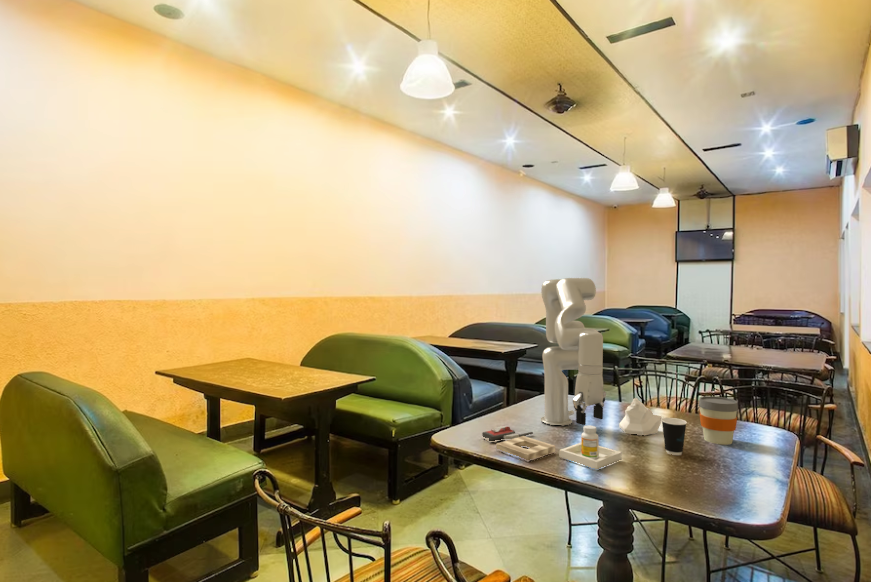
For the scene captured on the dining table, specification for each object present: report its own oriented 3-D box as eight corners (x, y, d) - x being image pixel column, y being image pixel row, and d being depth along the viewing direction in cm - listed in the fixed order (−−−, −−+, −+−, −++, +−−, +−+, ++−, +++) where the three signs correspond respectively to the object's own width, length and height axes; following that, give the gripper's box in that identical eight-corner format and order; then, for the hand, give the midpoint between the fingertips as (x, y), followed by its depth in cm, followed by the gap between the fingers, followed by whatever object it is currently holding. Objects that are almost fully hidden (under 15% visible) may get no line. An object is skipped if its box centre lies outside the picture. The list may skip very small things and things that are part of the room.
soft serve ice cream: (658, 442, 178) (654, 407, 176) (617, 439, 187) (611, 405, 184) (662, 426, 189) (658, 392, 186) (622, 423, 197) (618, 391, 194)
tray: (584, 449, 166) (584, 441, 166) (621, 460, 155) (621, 452, 155) (559, 458, 157) (559, 449, 157) (597, 471, 146) (597, 461, 146)
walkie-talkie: (493, 446, 170) (534, 437, 181) (493, 434, 170) (534, 425, 181) (478, 440, 177) (518, 431, 188) (478, 428, 177) (518, 420, 188)
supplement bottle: (585, 452, 160) (585, 423, 160) (601, 456, 157) (601, 426, 157) (578, 456, 156) (578, 427, 156) (594, 460, 153) (594, 430, 153)
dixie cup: (686, 458, 157) (686, 425, 157) (660, 454, 161) (660, 421, 161) (687, 451, 164) (687, 419, 164) (661, 447, 168) (662, 416, 168)
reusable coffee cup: (698, 442, 173) (699, 401, 173) (698, 433, 184) (698, 394, 184) (739, 448, 167) (739, 405, 167) (736, 438, 178) (736, 398, 178)
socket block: (523, 442, 173) (523, 435, 173) (555, 453, 162) (555, 445, 162) (496, 450, 164) (496, 443, 164) (527, 462, 154) (527, 454, 154)
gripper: (595, 364, 165) (594, 413, 165) (564, 371, 154) (563, 423, 154) (615, 368, 159) (614, 418, 159) (584, 374, 148) (584, 429, 149)
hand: (589, 421), depth 157 cm, fingers open, 9 cm apart
